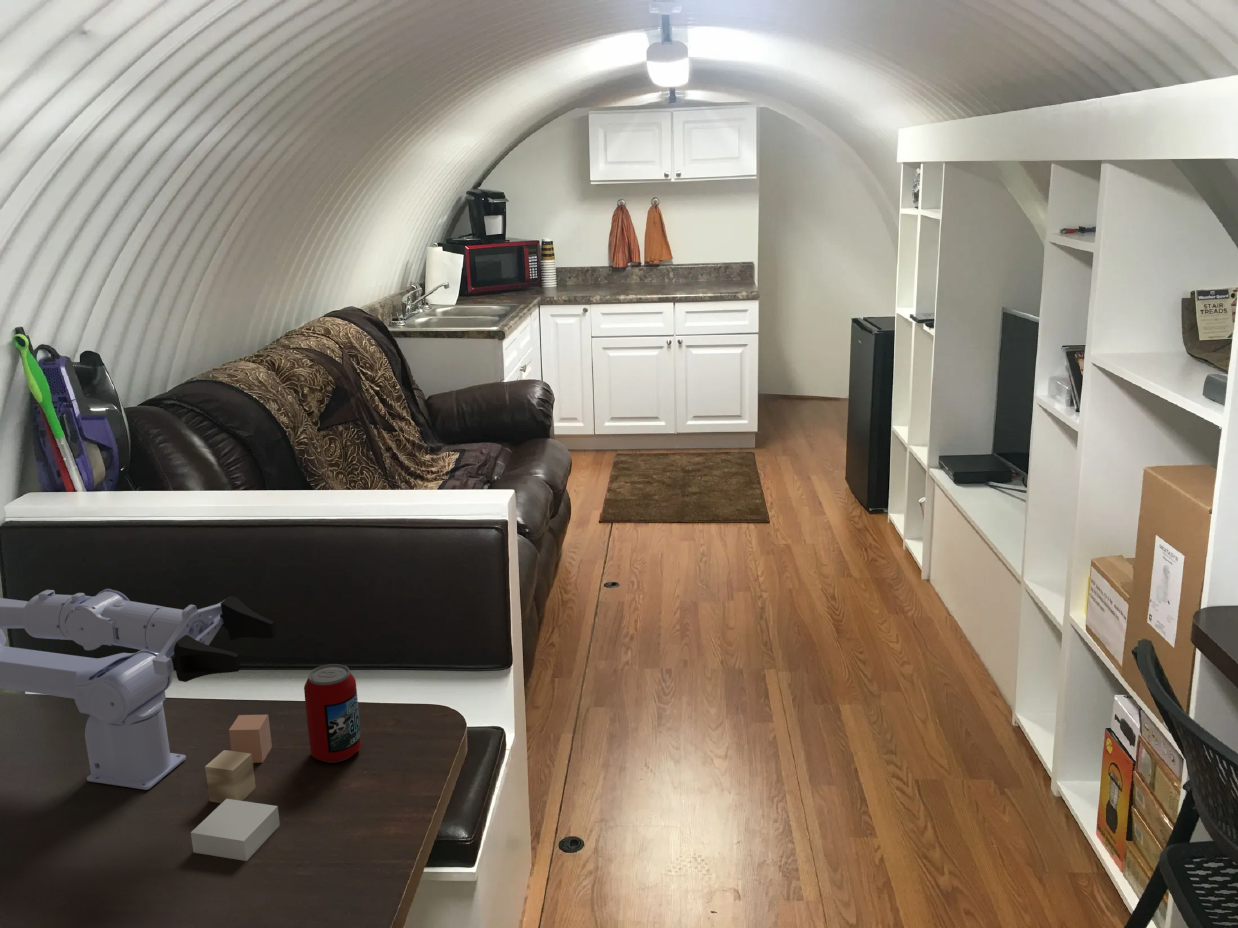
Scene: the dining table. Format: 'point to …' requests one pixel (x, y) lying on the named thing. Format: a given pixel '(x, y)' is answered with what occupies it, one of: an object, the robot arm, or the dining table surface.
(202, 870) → the dining table surface
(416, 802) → the dining table surface
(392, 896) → the dining table surface
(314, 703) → the beverage can
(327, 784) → the dining table surface
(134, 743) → the robot arm
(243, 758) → the maple block
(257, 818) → the grey slab
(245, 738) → the terracotta block
